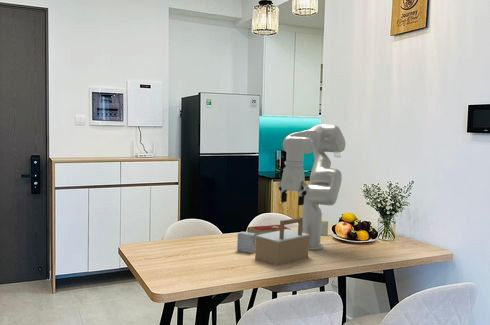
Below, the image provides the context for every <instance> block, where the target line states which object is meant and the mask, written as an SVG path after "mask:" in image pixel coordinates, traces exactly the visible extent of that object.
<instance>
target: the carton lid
mask: <svg viewBox="0 0 490 325" xmlns="http://www.w3.org/2000/svg"><path fill="white" fill-rule="evenodd" d="M297 223H298V224H297ZM292 224H297V230H292V229H291V230H289V229H286V230H284V227H285V226H286V225H292ZM302 224H303V216H301V217H296V218H290V219H284V220H280V221H279V225H280V231H276V232H271V233H266V234H261V235H256V237H259V238H263V239H267V240H270V241H274V242H278V243H279V242H283V241H288V240H292V239H296V238H301V237H305V236H309V234H306V233H302Z"/></svg>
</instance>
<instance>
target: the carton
mask: <svg viewBox="0 0 490 325" xmlns="http://www.w3.org/2000/svg"><path fill="white" fill-rule="evenodd" d="M309 251H310V250H309V236H305V237H301V238H296V239H292V240H288V241H283V242H279V243H278V242H274V241H270V240H267V239H263V238H259V237H256V251H255V258H254V259H255V260H258V261H261V262H265V263H267V264H270V265H274V266H277V267H278V266H281V265H285V264H289V263H293V262H295V261H299V260H303V259H306V258H308V257H309Z"/></svg>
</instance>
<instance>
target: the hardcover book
mask: <svg viewBox="0 0 490 325" xmlns="http://www.w3.org/2000/svg"><path fill="white" fill-rule="evenodd" d="M286 229H289V230H292V229H291V228H289V227H287V226H284V230H286ZM276 231H280V224H272V225H271V224H269V225H258V226H248V227H247V230H246V232H248V233H255V234H256V235H261V234H266V233H271V232H276Z"/></svg>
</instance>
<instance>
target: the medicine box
mask: <svg viewBox="0 0 490 325" xmlns="http://www.w3.org/2000/svg"><path fill="white" fill-rule="evenodd" d="M236 244H237V246H236V247H237V248H236V251H237V252H243V253H248V254H249V253H250V254H254V252H256V234H255V233H248V232H247V231H240V232H238V233H237V243H236Z"/></svg>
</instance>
